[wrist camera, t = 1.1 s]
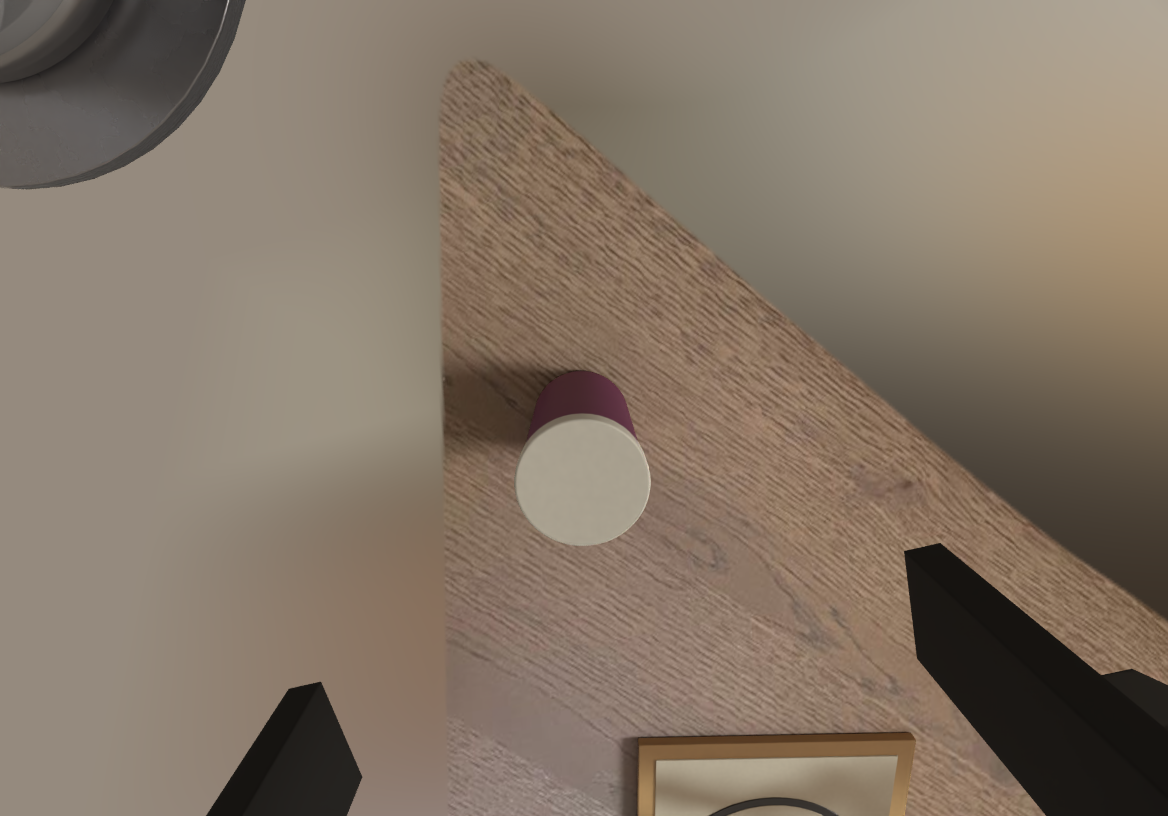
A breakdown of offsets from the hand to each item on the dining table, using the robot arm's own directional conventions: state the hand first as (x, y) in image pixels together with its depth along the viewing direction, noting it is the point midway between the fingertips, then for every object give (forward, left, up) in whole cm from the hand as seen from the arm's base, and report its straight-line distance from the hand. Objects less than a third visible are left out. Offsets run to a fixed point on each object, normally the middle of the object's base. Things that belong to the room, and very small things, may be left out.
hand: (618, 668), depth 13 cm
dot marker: (-1, -1, -18) cm, 18 cm away
